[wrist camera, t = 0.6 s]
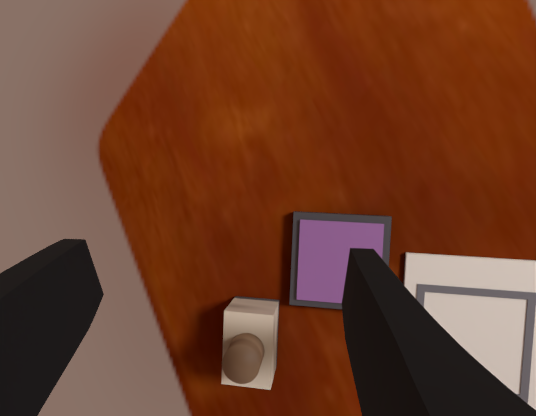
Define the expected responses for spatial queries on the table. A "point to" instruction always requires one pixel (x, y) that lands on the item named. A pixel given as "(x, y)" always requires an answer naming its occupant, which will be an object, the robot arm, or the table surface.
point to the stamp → (250, 342)
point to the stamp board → (483, 310)
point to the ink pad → (331, 253)
